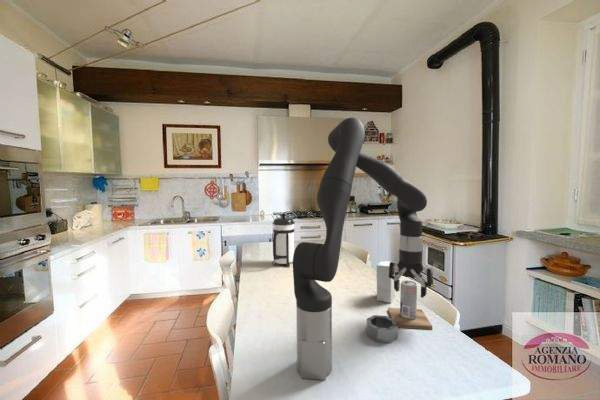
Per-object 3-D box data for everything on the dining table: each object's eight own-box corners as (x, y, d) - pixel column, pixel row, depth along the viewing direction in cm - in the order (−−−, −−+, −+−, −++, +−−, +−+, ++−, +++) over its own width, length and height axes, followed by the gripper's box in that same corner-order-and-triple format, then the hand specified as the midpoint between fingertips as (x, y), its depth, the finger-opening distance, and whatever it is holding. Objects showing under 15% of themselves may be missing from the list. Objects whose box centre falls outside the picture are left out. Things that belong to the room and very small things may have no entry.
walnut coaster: (432, 329, 91) (432, 326, 91) (394, 327, 93) (394, 324, 93) (421, 312, 103) (421, 309, 103) (388, 310, 105) (388, 307, 105)
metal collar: (399, 343, 84) (399, 330, 83) (368, 341, 85) (368, 329, 85) (393, 327, 93) (393, 316, 92) (365, 326, 94) (365, 314, 94)
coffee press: (267, 261, 169) (266, 212, 167) (292, 259, 174) (292, 211, 171) (273, 270, 152) (272, 216, 150) (301, 267, 157) (300, 214, 155)
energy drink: (408, 311, 102) (409, 279, 101) (419, 318, 97) (420, 284, 96) (396, 314, 100) (397, 281, 99) (407, 321, 95) (408, 286, 94)
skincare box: (391, 303, 111) (391, 267, 109) (375, 300, 114) (376, 264, 112) (395, 295, 118) (395, 261, 117) (380, 293, 121) (381, 259, 120)
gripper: (386, 247, 98) (385, 292, 99) (430, 253, 89) (428, 302, 90) (393, 243, 103) (393, 286, 105) (435, 248, 95) (434, 295, 96)
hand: (409, 293), depth 97 cm, fingers open, 8 cm apart
